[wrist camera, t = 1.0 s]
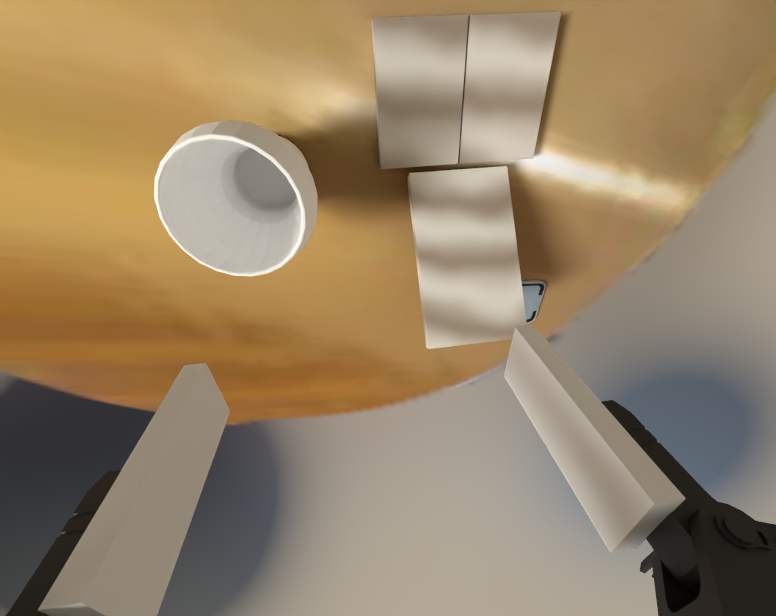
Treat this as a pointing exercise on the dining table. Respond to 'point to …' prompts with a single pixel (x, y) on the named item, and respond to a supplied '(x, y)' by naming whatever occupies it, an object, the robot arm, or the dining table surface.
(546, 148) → the dining table surface
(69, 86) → the dining table surface
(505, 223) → the silvery beige flat slab
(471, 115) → the laid floor
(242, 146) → the cup
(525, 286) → the smartphone
